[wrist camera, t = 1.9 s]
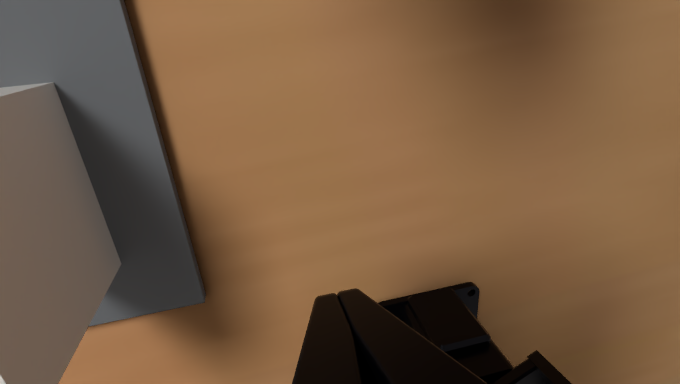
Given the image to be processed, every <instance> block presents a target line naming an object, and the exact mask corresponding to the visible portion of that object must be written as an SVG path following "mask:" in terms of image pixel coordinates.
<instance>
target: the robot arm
mask: <svg viewBox="0 0 680 384" xmlns="http://www.w3.org/2000/svg"><path fill="white" fill-rule="evenodd" d="M470 290H471V291H470ZM469 291H470V292H469ZM478 299H479V288H478V287H477V286H476V285H475V284H474V283H472V282H467V283H463V284H458V285H454V286H449V287H445V288H441V289H436V290H432V291H427V292H423V293H418V294H414V295H409V296H405V297H400V298H396V299H391V300H387V301H382V302H379V303H377V302H375V301H374V300H372V299H371V298H370V297H368V296H367V295H366V294H364V293H363V292H362V291H360V290H359V289H356V288H355V289H349V290H345V291H340V292H339V293H338V294H337V295H336V294H335V293H331V294H326V295H321V296H318V297H316V299H315V301H314V305H313V309H312V312H311V316H310V320H309V323H308V327H307V331H306V334H305V338H304V342H303V345H302V349H301V353H300V356H299V360H298V364H297V367H296V371H295V375H294V378H293V382H292V384H571V383H570V382H569V381H568V380H567V379H566V378H565V377H564V376H563V375H562V374H561V373H560V372H559V371H558V370H557V369H556V368H555V367H554V366H553V365H551V364H550V363H549V362H548V361H547V360H546V359H545V358H544V357H543V356H542V355H541V354H540V353H539V352H538V351H537V350H536V351H535V352H533V353H532V354H530V355H529V356H527V357H528V359H527V360H525V361H524V362H522V363H521V364H519V365H518V366H516V367H515V368H514V367H513V366H512V365H511V364H510V362H509V361H508V360H507V359H506V357H505V356H504V355H503V354H502V352H501V351H500V350H499V348H498V347H497V346H496V345H495V343H494V342H493V341H492V340H491V337H490V335H489V334H488V332H487V331H486V330H485V329H484V327H483V326H482V325H481V324H480V322H479V321H478V320H477V311H478Z"/></svg>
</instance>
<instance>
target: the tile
mask: <svg viewBox="0 0 680 384" xmlns="http://www.w3.org/2000/svg"><path fill="white" fill-rule="evenodd" d="M120 266H121V261H120V259H119V256H118V253H117V251H116V248H115V245H114V243H113V240H112V237H111V235H110V232H109V229H108V227H107V224H106V221H105V219H104V216H103V213H102V211H101V208H100V205H99V203H98V200H97V197H96V195H95V192H94V189H93V186H92V184H91V181H90V178H89V176H88V173H87V170H86V168H85V165H84V162H83V160H82V157H81V154H80V152H79V149H78V146H77V144H76V141H75V138H74V136H73V133H72V130H71V128H70V125H69V122H68V120H67V117H66V114H65V112H64V109H63V106H62V104H61V101H60V98H59V96H58V93H57V90H56V88H55V85H54V82H50V83H41V84H31V85H21V86H12V87H2V88H0V384H58V383H59V381H60V379H61V377H62V375H63V374H64V372H65V370H66V368H67V366H68V364H69V362H70V360H71V358H72V356H73V355H74V353H75V351H76V349H77V347H78V345H79V343H80V341H81V339H82V338H83V336H84V334H85V332H86V330H87V328H88V326H89V324H90V322H91V321H92V319H93V317H94V315H95V313H96V311H97V309H98V307H99V305H100V304H101V302H102V300H103V298H104V296H105V294H106V292H107V290H108V288H109V286H110V285H111V283H112V281H113V279H114V277H115V275H116V273H117V271H118V269H119V268H120Z"/></svg>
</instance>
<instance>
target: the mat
mask: <svg viewBox="0 0 680 384" xmlns="http://www.w3.org/2000/svg"><path fill="white" fill-rule="evenodd" d="M50 82H54V85H55V88H56V90H57V93H58V96H59V98H60V101H61V104H62V106H63V109H64V112H65V114H66V117H67V120H68V122H69V125H70V128H71V130H72V133H73V136H74V138H75V141H76V144H77V146H78V149H79V152H80V154H81V157H82V160H83V162H84V165H85V168H86V170H87V173H88V176H89V178H90V181H91V184H92V186H93V189H94V192H95V195H96V197H97V200H98V203H99V205H100V208H101V211H102V213H103V216H104V219H105V221H106V224H107V227H108V229H109V232H110V235H111V237H112V240H113V243H114V245H115V248H116V251H117V253H118V256H119V259H120V261H121V266H120V268H119V269H118V271H117V273H116V275H115V277H114V279H113V281H112V283H111V285H110V286H109V288H108V290H107V292H106V294H105V296H104V298H103V300H102V302H101V304H100V305H99V307H98V309H97V311H96V313H95V315H94V317H93V319H92V321H91V322H90V324H89V326H93V325H98V324H103V323H108V322H112V321H117V320H122V319H127V318H132V317H137V316H141V315H146V314H151V313H156V312H161V311H166V310H171V309H175V308H180V307H185V306H190V305H195V304H200V303H204V302H205V298H206V293H205V290H204V286H203V283H202V279H201V275H200V272H199V268H198V265H197V261H196V257H195V254H194V250H193V247H192V243H191V240H190V236H189V232H188V229H187V225H186V222H185V218H184V214H183V211H182V207H181V204H180V200H179V196H178V193H177V189H176V186H175V182H174V178H173V175H172V171H171V168H170V164H169V160H168V157H167V153H166V150H165V146H164V142H163V139H162V135H161V132H160V128H159V124H158V121H157V117H156V114H155V110H154V106H153V103H152V99H151V96H150V92H149V89H148V85H147V81H146V78H145V74H144V71H143V67H142V63H141V60H140V56H139V53H138V49H137V45H136V42H135V38H134V35H133V31H132V27H131V24H130V20H129V17H128V13H127V9H126V6H125V2H124V0H0V88H2V87H12V86H21V85H31V84H41V83H50Z"/></svg>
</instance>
